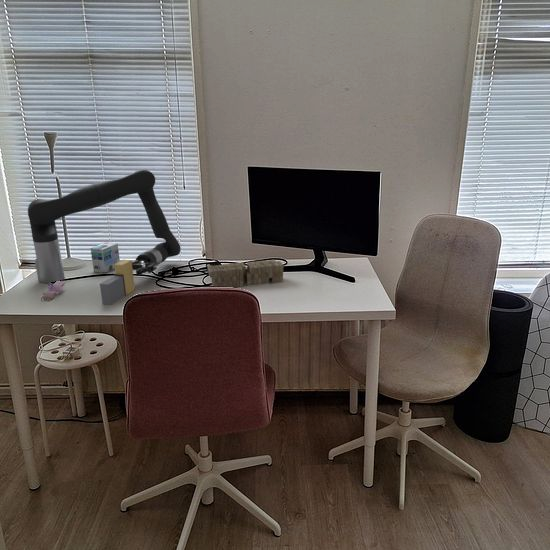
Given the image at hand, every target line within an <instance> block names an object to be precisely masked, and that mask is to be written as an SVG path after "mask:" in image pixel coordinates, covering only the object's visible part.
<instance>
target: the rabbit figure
mask: <svg viewBox="0 0 550 550" xmlns="http://www.w3.org/2000/svg"><path fill="white" fill-rule="evenodd" d="M65 284H66V281H65V280H61V281H56V282H55V283H48V287H47V289H48V290H47V291H45V292H42V296H41V298H40V301H41V302H44V301H46V302H50V301H52V300H53V299H54V295H59V294H60V293H61V292H62V291H63V287H64V286H65Z"/></svg>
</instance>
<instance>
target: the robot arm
mask: <svg viewBox="0 0 550 550" xmlns="http://www.w3.org/2000/svg"><path fill="white" fill-rule="evenodd" d="M155 184H156V177H155V174H154V173H152V172H151V171H150V170H148V169H145V168H144V169H138V170H135V171H134V172H133V173H131V174H128V175H125V176H124V177H121V178H116V179H110V180H105V181H99V182H96V183H92V184H88V185H86V186H82V187H79V188H78V189H76V190H73V191H72V192H69V193H67V194H66V195H64V196H62V197H58V198H55V199H49V200H45V199H43V198H41V199H40V198H38V199H37V198H36V199H34V200H32V201H30V203H29V205H28V206H27V216H28V220H29V224H30V230H31V236H32V242H33V247H34V252H35V257H36V259H34V265H35V270H36V275H37V280H38V283H44V284H50V283H51V282H55V281H60V280H61V281H64V280H65V278H66V277H65V272H64V265H63V260H62V254H61V249H60V248H61V247H60V241H59V235H58V231H57V223H56V221H57V220H58V219H61V218H64V217H66V216H70V215H73V214H77V213H81V212H85V211H88V210H92V209H94V208H95V209H96V208H99V207H102V206H104V205H108V204H109V203H113V202H114V201H117V200H119V199H121V198H123V197H127V196H130V195H134V194H137V195H138V197H139V199H140V201H141V203H142V205H143V208H144V210H145V212H146V216H147V219H148V221H149V224H150V227H151V229H152V232H153V235H154V237H155V239H163V240H164V242H159V243H158V244H157V245H155V246H154V247H153V248H151V249H148V250H146V251H144V252H142V253H140V254H139V255H137V257H135V260H131V261H132V269H133V271H135V273H136V277H137V276H138V277H139V276H140V275H142V274H146V273H148V274H151V273H152V272H154V271H156V270H157V269H158V268H157V267H158V266H159V265H160V264H161V263H163V262H164V261H166V260H167V259H168V258H171V257H176V256H179V255H180V253H181V244H180V242H179V241H178V240H177V238H176V237H175V235H174V234H173V232H172V231H171V228H170V225H169V224H168V221H167V218H166V216H165V214H164V211H163V210H162V208H161V206H160V204H159V202H158V199H157V198H156V195H155V191H154V186H155Z"/></svg>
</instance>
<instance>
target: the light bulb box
mask: <svg viewBox="0 0 550 550" xmlns="http://www.w3.org/2000/svg"><path fill="white" fill-rule="evenodd" d="M90 253H91V255H90V256H91V262H92V267H93V272H94V271H95V272H96V273H102V272H107V273H108V271H109V272H111V271H113V270H115V266H114V264H116V263H118V262H120V261H121V260H120V258H121V257H120V251H119V243H117V242H115V243H114V242H109V241H108V242H107V241H105V242H103V243H101V244H98V245H95V246H93V247H91V248H90ZM112 269H113V270H112ZM110 270H111V271H110ZM95 272H94V273H95Z"/></svg>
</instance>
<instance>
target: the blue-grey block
mask: <svg viewBox="0 0 550 550" xmlns="http://www.w3.org/2000/svg"><path fill="white" fill-rule="evenodd" d="M99 287H100V293H101V295H100V296H101V302H102V305H107V306H108V305H109V306H111V305H113V304H116V303H117V302H118V301H119V300H121V299H123V298H124V297H126V296H127V295H126V291H125V283H124V275H119V274H116V273H115V274H113V276H111V277H109V278H108V279H105V280H104V281H102V282H100V283H99Z"/></svg>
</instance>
